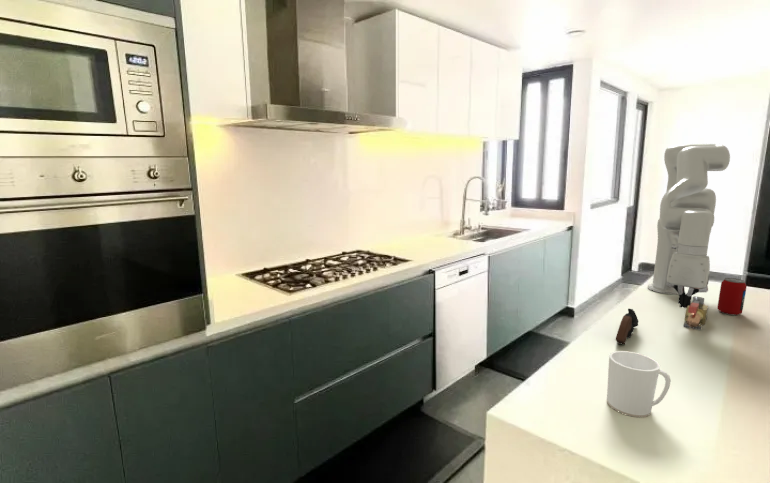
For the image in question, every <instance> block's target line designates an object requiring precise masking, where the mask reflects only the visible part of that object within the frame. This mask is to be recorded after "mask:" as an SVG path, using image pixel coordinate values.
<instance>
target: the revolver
mask: <svg viewBox="0 0 770 483" xmlns="http://www.w3.org/2000/svg"><path fill="white" fill-rule="evenodd" d="M627 312H628V313H625V314H624V315H623V316H622V319H621V321H620V324H619V326H618V329H617V333H616V336H615V341H616V342H617V344H619V345H624V346H625V345H626V342H627V340H628V339H627V338H631V337H632V335H633V333H634V331H635V328H636V327H638V326H639V319H638V316H637V314H636V312H635V310H634V309H633V308H627Z"/></svg>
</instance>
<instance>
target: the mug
mask: <svg viewBox="0 0 770 483" xmlns="http://www.w3.org/2000/svg"><path fill="white" fill-rule="evenodd" d="M608 355H609V356H608V368H607V369H608V371H607V372H608V373H607V389H606V391H607V392H606V402H607V404H608V406H609V405H610V406H611V407H612V408H611V407H610V406H609V407H610V408H611V409H613V410H614V409H615V410H614V411H616V412H617V411H619V412H618V413H620V412H621V413H620V414H622V413H623V414H622V415H624V414H626V415H625V416H628V415H629V417H632V416H633V418H646V417H648V416H650V415H651V414H652V409H653V407H654V406H656V405H658V404H660V403H661V402H662V401H663V399H665V397H666V395H667V394H668V392H669V389H670V387H671V382H672V381H671V377H670V375H669V374H668V372H666V371H664V370H663V369H661V365H660V363H659V362H658V361H657V360H655V359H653V358H652V357H650V356H648V355H645V354H642V353H638V352H634V351H627V350H617V351H612V352H610V354H608ZM659 375H661V376H662V377H663V378H664V380H665V382H664V383H665V384H664V386H663V390H662V392H661V393H660V395H659V396H658V397H657V398H656V399H654V398H655V394H656V390H657V389H656V388H657V383H658V378H659Z"/></svg>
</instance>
